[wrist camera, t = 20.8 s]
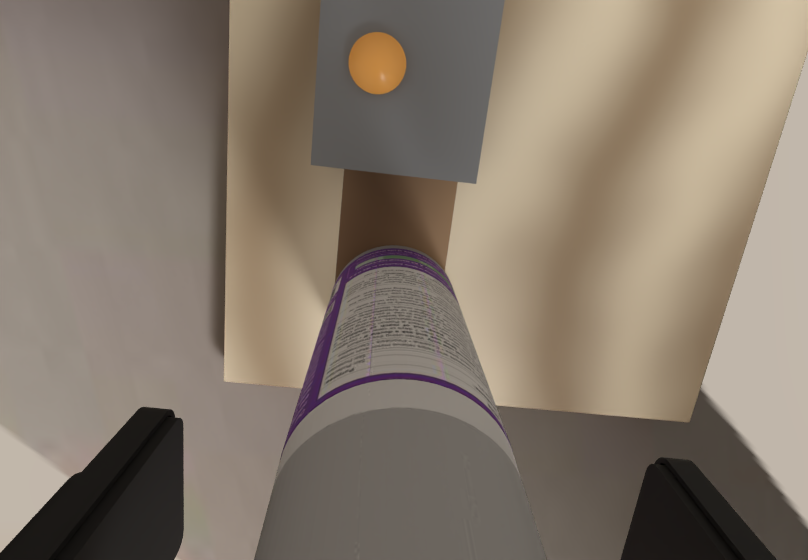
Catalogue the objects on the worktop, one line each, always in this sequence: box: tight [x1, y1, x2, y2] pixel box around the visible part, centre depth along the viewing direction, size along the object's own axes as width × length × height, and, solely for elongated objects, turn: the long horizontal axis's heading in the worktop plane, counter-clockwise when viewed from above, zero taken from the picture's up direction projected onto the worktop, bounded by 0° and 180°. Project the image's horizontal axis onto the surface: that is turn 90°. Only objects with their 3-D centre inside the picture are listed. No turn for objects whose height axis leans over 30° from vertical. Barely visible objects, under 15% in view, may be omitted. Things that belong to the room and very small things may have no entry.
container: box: [254, 245, 547, 560], centre depth 13 cm, size 5×5×15 cm
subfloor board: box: [224, 0, 808, 422], centre depth 20 cm, size 19×16×1 cm
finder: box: [311, 0, 505, 184], centre depth 16 cm, size 5×6×3 cm
